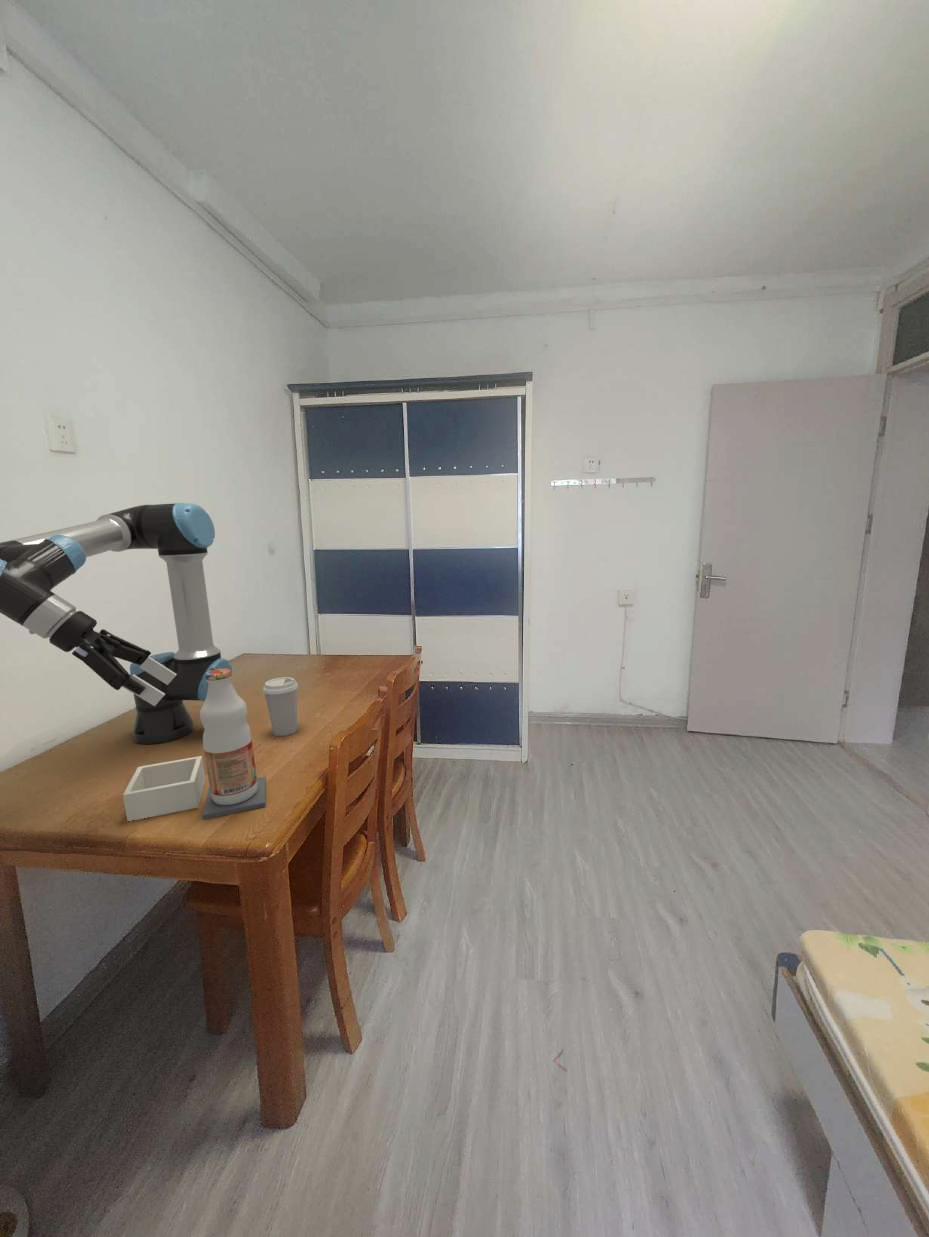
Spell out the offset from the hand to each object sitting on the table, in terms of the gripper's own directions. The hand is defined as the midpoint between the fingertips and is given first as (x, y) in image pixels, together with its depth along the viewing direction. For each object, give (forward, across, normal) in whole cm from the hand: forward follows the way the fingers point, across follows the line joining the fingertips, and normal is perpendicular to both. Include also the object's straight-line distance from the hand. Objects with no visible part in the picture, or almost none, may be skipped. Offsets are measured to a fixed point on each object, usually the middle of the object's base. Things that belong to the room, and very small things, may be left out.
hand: (166, 689), depth 104 cm
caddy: (+16, -6, -22) cm, 28 cm away
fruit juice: (+25, 0, -11) cm, 28 cm away
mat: (+26, 0, -12) cm, 28 cm away
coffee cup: (+34, -34, -4) cm, 48 cm away
